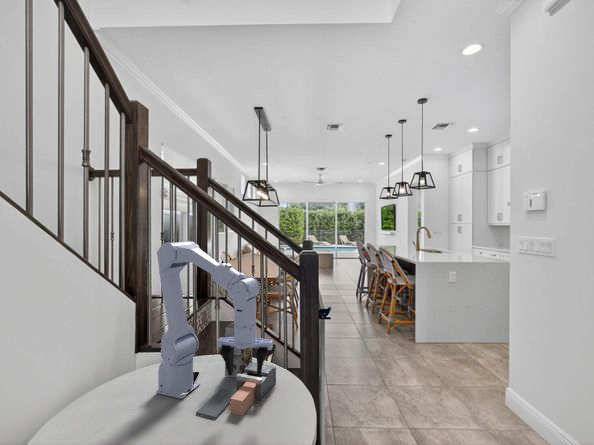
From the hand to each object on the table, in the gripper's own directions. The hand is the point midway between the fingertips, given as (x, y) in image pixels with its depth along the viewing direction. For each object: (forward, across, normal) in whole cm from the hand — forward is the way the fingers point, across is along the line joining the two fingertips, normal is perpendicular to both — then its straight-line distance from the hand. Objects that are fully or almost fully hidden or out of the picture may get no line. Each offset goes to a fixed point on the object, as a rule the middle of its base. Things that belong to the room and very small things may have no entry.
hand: (245, 374), depth 80 cm
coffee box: (+10, -8, +20) cm, 23 cm away
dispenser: (+9, +1, +9) cm, 13 cm away
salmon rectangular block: (+10, 0, +3) cm, 10 cm away
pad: (+9, -8, +2) cm, 12 cm away
